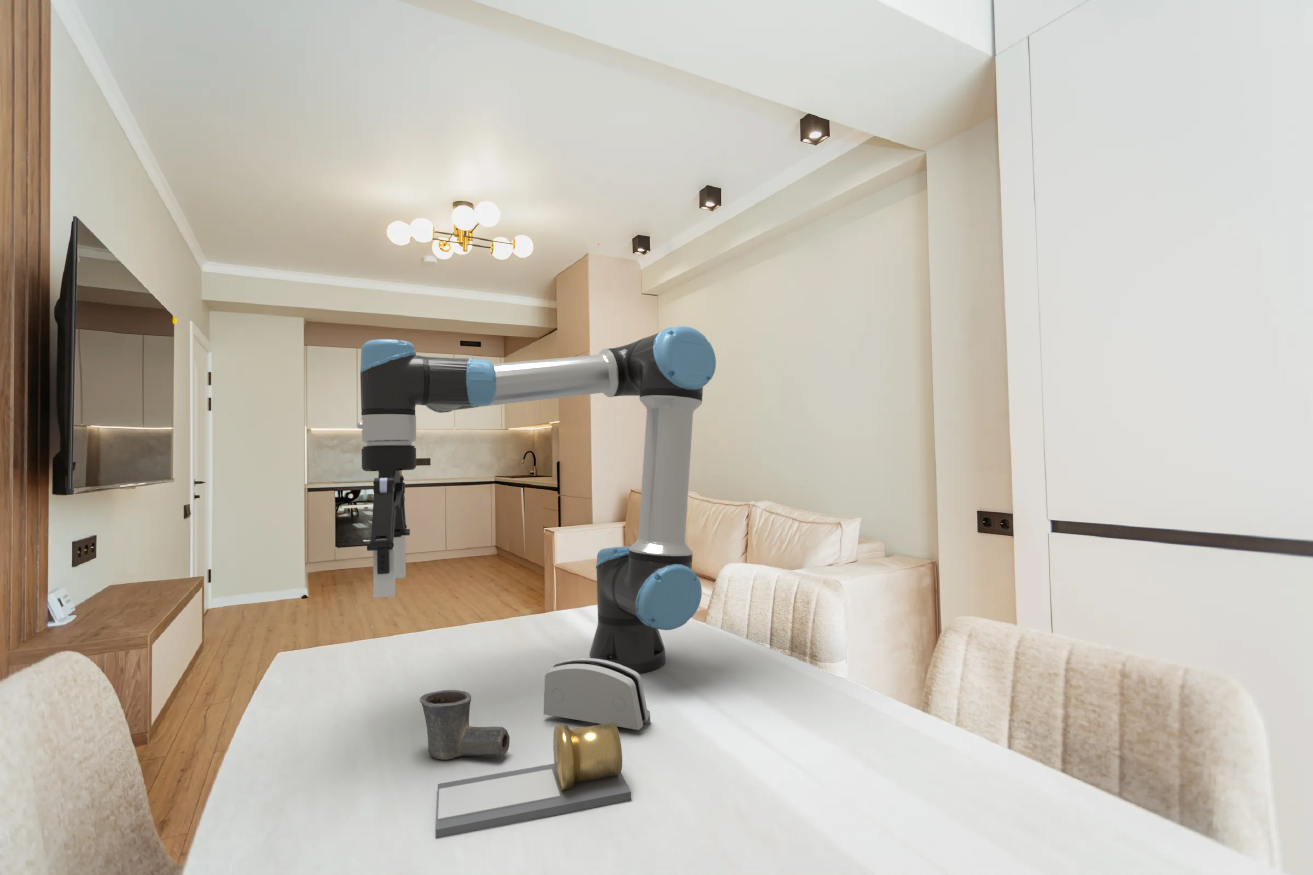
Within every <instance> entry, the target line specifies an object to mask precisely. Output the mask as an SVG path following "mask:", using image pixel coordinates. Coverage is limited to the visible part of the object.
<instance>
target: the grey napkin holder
mask: <svg viewBox="0 0 1313 875" xmlns="http://www.w3.org/2000/svg"><path fill="white" fill-rule="evenodd" d="M543 688H544V689H543V690H544V694H543V715H545V716H552V717H557V718H565V719H571V720H576V721H582V722H588V723H593V724H598V725H601V724H607V723H615V724H616V726H617V728H618V727H619V728H624V729H630V730H638V731H639V730H641V729H642V728H643V727H644V724H646V725H647V724H648V725H650V724H651V723H652V721H651V720H652V719H651V711H650V710H649V709H648V708H647V703H646V698H645V697H646V696H645V692H644V687H643V682H642V677H641V675H640V673H637V672H636V671H634V670H632V669H630V668H628V667H625V666H623V665H620V664H617V663H614V662H611V661H607V660H601V659H594V658H590V657H589V658H588V657H583V658H581V657H580V658H573V659H568V660H564V661H561V662H557V663H556V664H554V665H553V666H552V667H550V668H549V669H548V671H547V672H546V674H545V675H544V687H543Z"/></svg>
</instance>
